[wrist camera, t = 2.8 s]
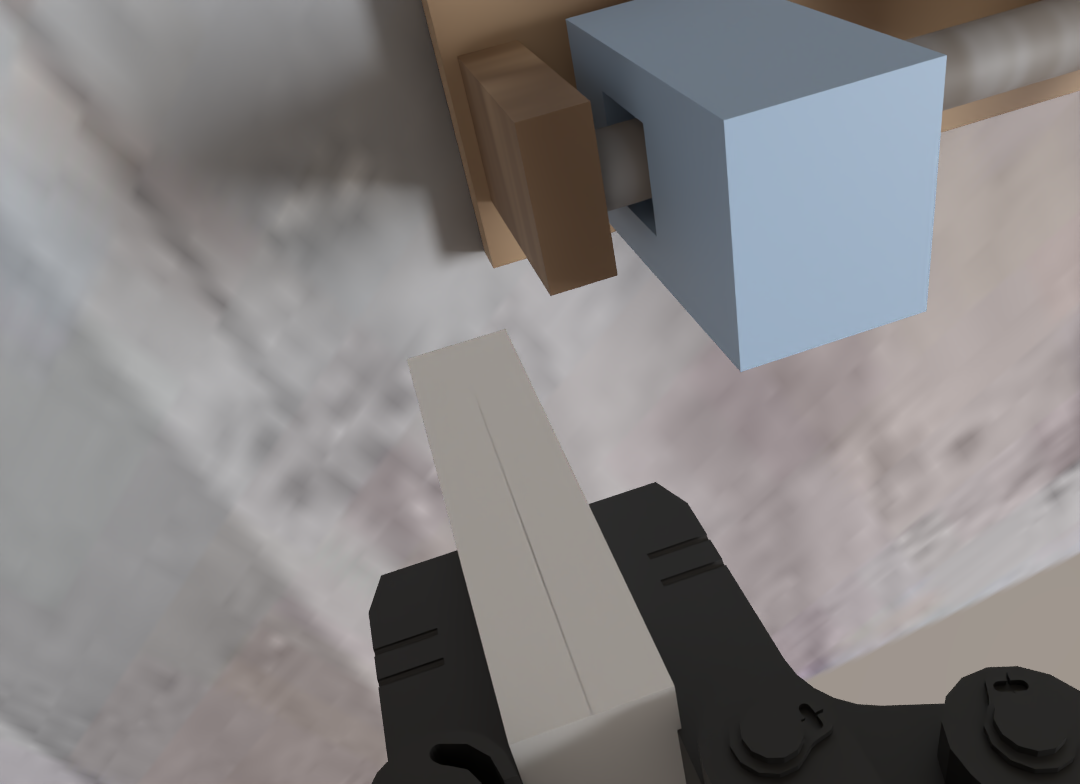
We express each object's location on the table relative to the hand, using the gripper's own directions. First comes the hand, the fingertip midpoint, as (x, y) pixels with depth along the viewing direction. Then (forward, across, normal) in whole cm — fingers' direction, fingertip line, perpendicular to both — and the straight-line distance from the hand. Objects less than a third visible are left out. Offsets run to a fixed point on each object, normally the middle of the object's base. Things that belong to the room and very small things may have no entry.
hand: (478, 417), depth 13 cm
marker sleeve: (+11, +7, 0) cm, 13 cm away
